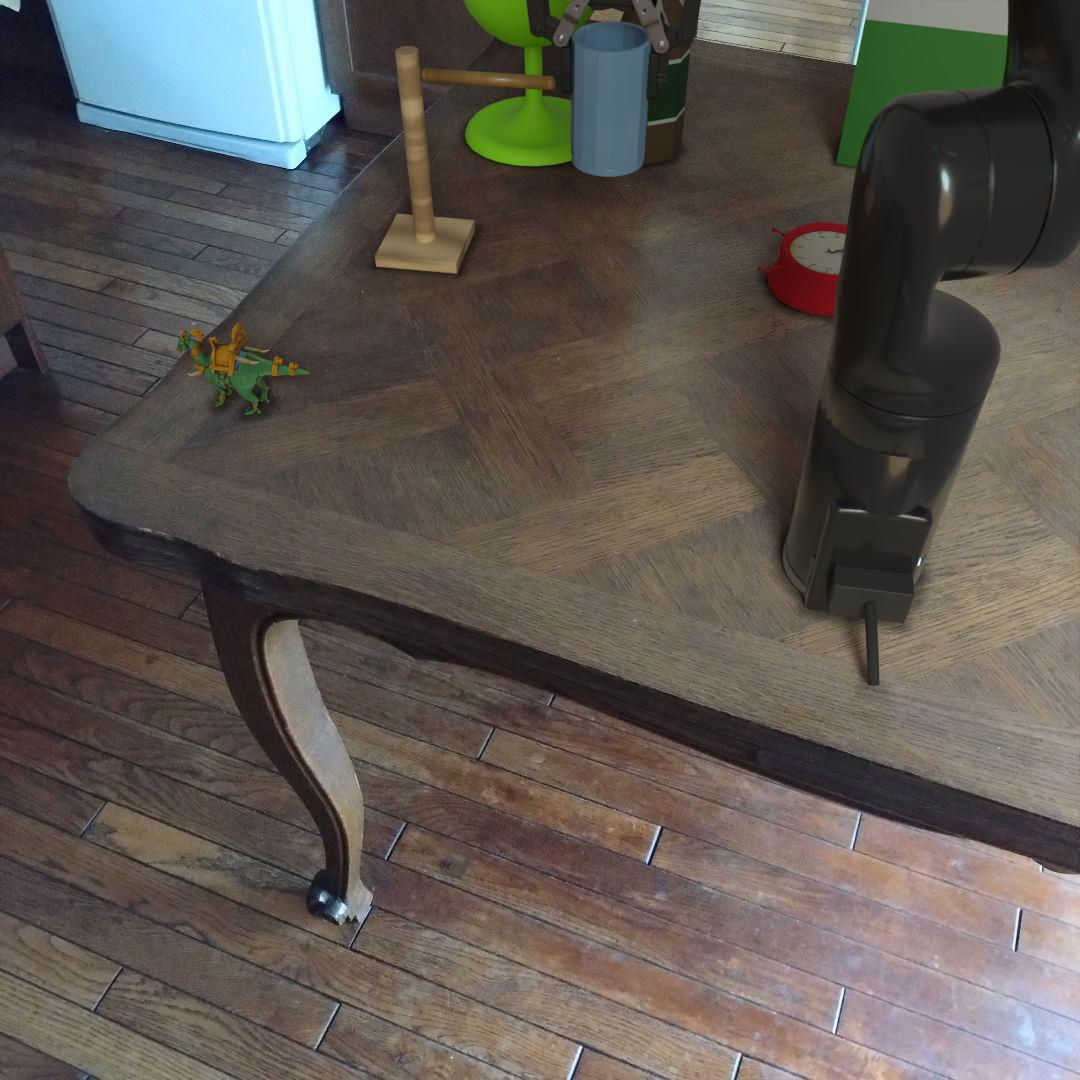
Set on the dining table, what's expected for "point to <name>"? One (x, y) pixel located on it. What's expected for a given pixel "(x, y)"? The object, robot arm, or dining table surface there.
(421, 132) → the mug stand
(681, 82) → the beer bottle
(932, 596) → the dining table surface
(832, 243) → the alarm clock
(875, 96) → the hardback book
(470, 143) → the wineglass
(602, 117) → the mug
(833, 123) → the dining table surface
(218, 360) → the figurine
